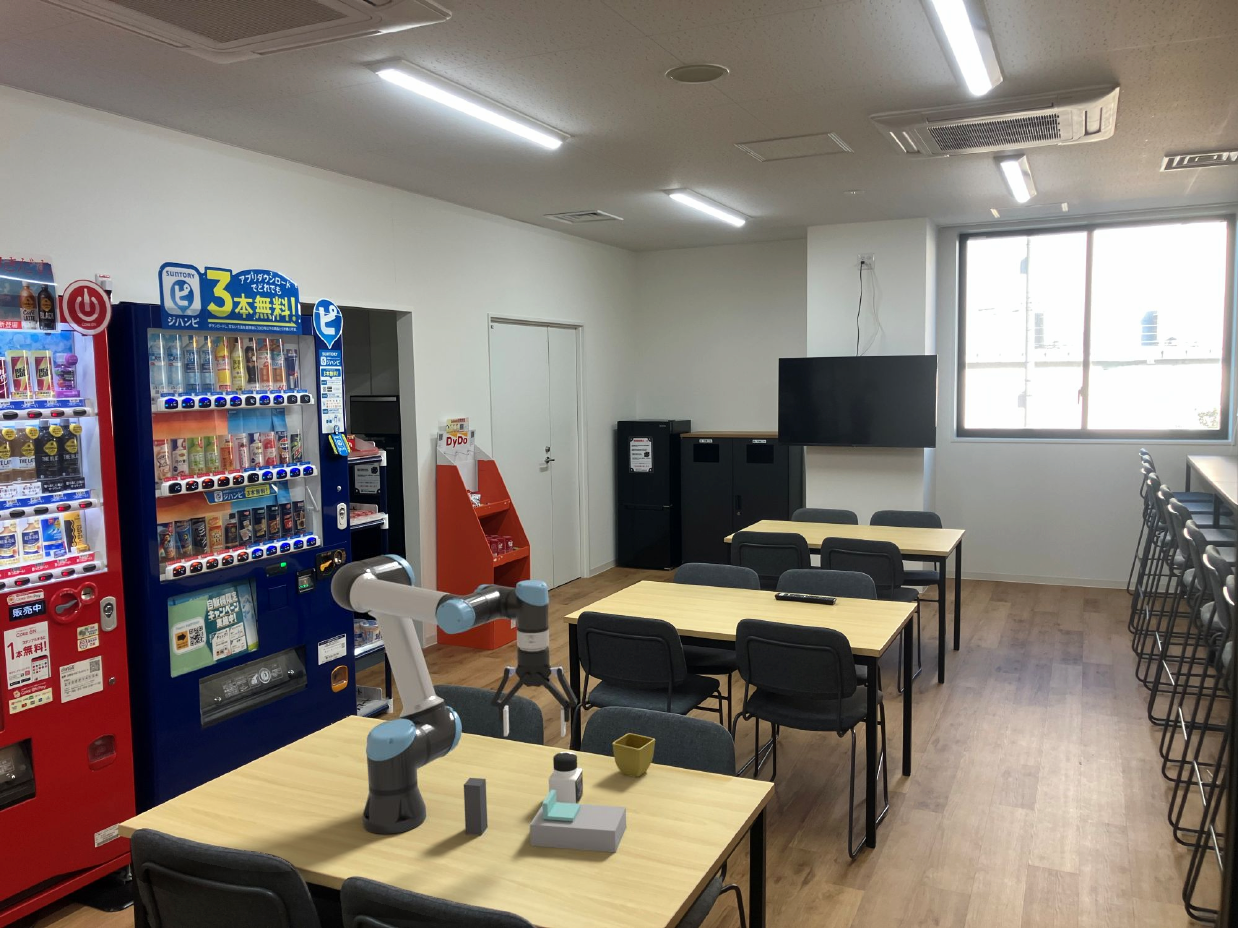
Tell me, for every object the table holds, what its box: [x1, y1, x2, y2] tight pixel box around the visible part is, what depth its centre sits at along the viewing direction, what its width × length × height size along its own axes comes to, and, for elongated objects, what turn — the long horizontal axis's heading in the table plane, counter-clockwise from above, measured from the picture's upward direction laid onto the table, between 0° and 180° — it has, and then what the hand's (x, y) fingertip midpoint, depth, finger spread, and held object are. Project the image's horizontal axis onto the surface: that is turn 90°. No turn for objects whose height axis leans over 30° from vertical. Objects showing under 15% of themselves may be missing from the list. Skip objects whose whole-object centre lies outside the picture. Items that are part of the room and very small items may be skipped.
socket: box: [529, 802, 627, 853], centre depth 214 cm, size 20×12×5 cm, turn 78°
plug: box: [463, 777, 488, 836], centre depth 218 cm, size 4×4×12 cm
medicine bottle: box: [548, 751, 584, 804], centre depth 233 cm, size 7×7×12 cm
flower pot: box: [611, 732, 656, 778], centre depth 249 cm, size 9×9×9 cm
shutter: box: [541, 790, 582, 821], centre depth 215 cm, size 7×7×4 cm
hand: (534, 734), depth 218 cm, fingers open, 13 cm apart
